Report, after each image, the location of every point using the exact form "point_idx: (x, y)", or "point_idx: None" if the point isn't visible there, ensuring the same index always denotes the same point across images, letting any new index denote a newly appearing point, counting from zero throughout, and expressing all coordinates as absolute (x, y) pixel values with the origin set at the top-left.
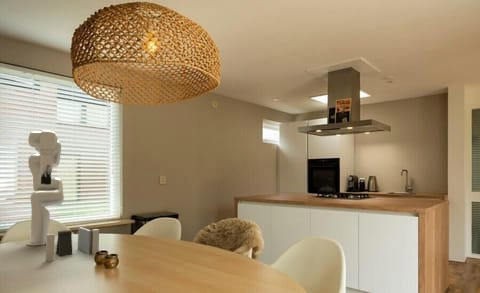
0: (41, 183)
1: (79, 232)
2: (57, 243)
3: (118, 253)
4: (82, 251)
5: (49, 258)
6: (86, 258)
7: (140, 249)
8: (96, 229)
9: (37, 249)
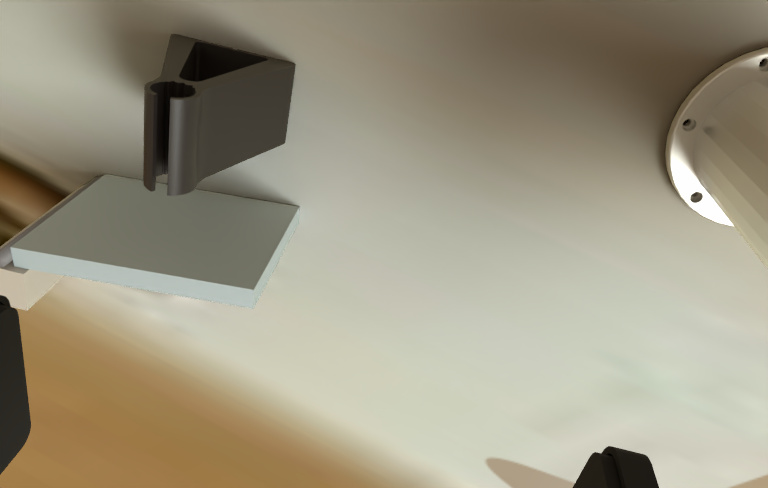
0: (598, 457)
1: (236, 263)
2: (234, 74)
3: None
4: (208, 191)
5: None
6: (8, 115)
7: (44, 381)
8: (4, 293)
9: (541, 28)
